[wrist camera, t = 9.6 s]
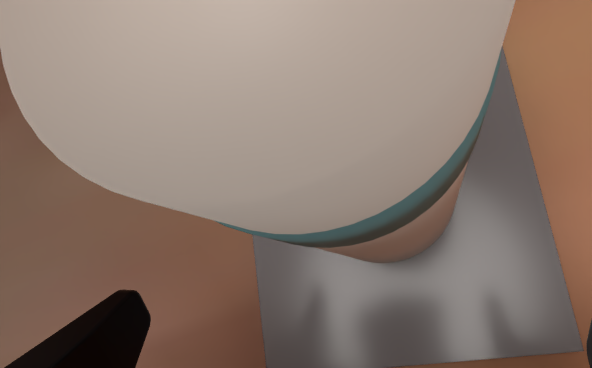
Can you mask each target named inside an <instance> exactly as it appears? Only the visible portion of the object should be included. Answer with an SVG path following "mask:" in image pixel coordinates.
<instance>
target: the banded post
mask: <svg viewBox="0 0 592 368" xmlns="http://www.w3.org/2000/svg"><path fill="white" fill-rule="evenodd" d="M514 3H515V0H0V49H1V55H2V61H3V66H4V69H5V72H6V76H7V79H8V82H9V85H10V88H11V91H12V93H13V96H14V98H15V100H16V102H17V104H18V106H19V108H20V110H21V112H22V114H23V116H24V118H25V119H26V120H27V122H28V123H29V125H30V126H31V128H32V129H33V130H34V132H35V133H36V135H37V136H38V138H39V139H40V140H41V141H42V142H43V143H44V144H45V145H46V146H47V147H48V148H49V149H50V150H51V151H52V152H53V153H54V154H55V155H56V156H57V157H58V159H59V160H61V161H62V162H63V163H65V164H66V165H68V166H69V167H70V168H72V169H73V170H74V171H76V172H77V173H79V174H80V175H81V176H83V177H84V178H86V179H88V180H90V181H92V182H94V183H96V184H98V185H100V186H102V187H104V188H106V189H108V190H110V191H112V192H115V193H119V194H122V195H125V196H128V197H131V198H135V199H138V200H141V201H144V202H148V203H152V204H155V205H159V206H163V207H166V208H170V209H174V210H178V211H181V212H185V213H189V214H192V215H196V216H200V217H203V218H207V219H211V220H214V221H216V222H218V223H220V224H222V225H224V226H227V227H230V228H233V229H236V230H239V231H243V232H246V233H249V234H253V235H257V236H261V237H265V238H269V239H273V240H277V241H281V242H285V243H289V244H294V245H300V246H306V247H314V248H318V249H322V250H325V251H329V252H333V253H336V254H340V255H344V256H348V257H351V258H355V259H359V260H362V261H366V262H372V263H392V262H398V261H402V260H405V259H408V258H411V257H413V256H415V255H417V254H419V253H421V252H423V251H424V250H425V249H427V248H428V247H429V246H431V245H432V244H433V243H434V242H435V241H436V240H437V239H438V238H439V237H440V235H441V234H442V233H443V232H444V230H445V228H446V227H447V225H448V223H449V221H450V219H451V216H452V214H453V211H454V207H455V204H456V200H457V197H458V194H459V190H460V187H461V183H462V180H463V177H464V173H465V170H466V166H467V163H468V160H469V158H470V156H471V154H472V151H473V149H474V146H475V144H476V142H477V139H478V137H479V134H480V130H481V127H482V124H483V121H484V118H485V115H486V112H487V108H488V105H489V102H490V99H491V96H492V93H493V89H494V85H495V81H496V77H497V73H498V70H499V66H500V57H501V48H502V44H503V41H504V37H505V34H506V31H507V27H508V24H509V20H510V17H511V14H512V10H513V7H514Z"/></svg>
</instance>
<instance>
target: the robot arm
mask: <svg viewBox="0 0 592 368" xmlns="http://www.w3.org/2000/svg"><path fill="white" fill-rule="evenodd" d="M150 322H151V318H150V314H149V311H148V310H147V308H146V306H145V304H144V302H143V300H142V298H141V296H140V294H139V293H138V292H137V291H135V290H119V291H117V292H115V293H114V294H112V295H111V296H109V297H108V298H106V299H105V300H103V301H102V302H100V303H99V304H97V305H96V306H94V307H93V308H92V309H90V310H89V311H87V312H86V313H84V314H83V315H81V316H80V317H78V318H77V319H75V320H74V321H72V322H71V323H69V324H68V325H66V326H65V327H64V328H62V329H61V330H59V331H58V332H56V333H55V334H53V335H52V336H50V337H49V338H47V339H46V340H44V341H43V342H41V343H40V344H39V345H37V346H36V347H34V348H33V349H31V350H30V351H28V352H27V353H25V354H24V355H22V356H21V357H19V358H18V359H16V360H15V361H13V362H12V363H11V364H9V365H8V366H6V367H5V368H135V367H136V364H137V361H138V358H139V355H140V353H141V350H142V347H143V344H144V341H145V338H146V335H147V332H148V330H149V327H150ZM587 356H588V361H589V365H590V368H592V320H591V325H590V329H589V334H588V338H587Z"/></svg>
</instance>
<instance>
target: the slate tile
mask: <svg viewBox="0 0 592 368" xmlns="http://www.w3.org/2000/svg"><path fill="white" fill-rule="evenodd" d="M252 235H253V234H252ZM253 244H254V254H255V264H256V273H257V283H258V293H259V302H260V312H261V322H262V331H263V341H264V351H265V360H266V368H388V367H400V366H412V365H424V364H436V363H447V362H459V361H471V360H483V359H495V358H507V357H519V356H531V355H542V354H554V353H566V352H578V351H584V350H583V346H582V342H581V338H580V335H579V331H578V327H577V323H576V320H575V316H574V312H573V308H572V305H571V301H570V297H569V294H568V290H567V286H566V282H565V279H564V275H563V271H562V267H561V264H560V260H559V256H558V252H557V249H556V245H555V241H554V237H553V234H552V230H551V226H550V222H549V219H548V215H547V211H546V208H545V204H544V200H543V196H542V193H541V189H540V185H539V181H538V178H537V174H536V170H535V166H534V163H533V159H532V155H531V151H530V148H529V144H528V140H527V137H526V133H525V129H524V125H523V122H522V118H521V114H520V110H519V107H518V103H517V99H516V95H515V92H514V88H513V84H512V80H511V77H510V73H509V69H508V65H507V62H506V58H505V54H504V51H503V47H502V48H501V57H500V66H499V70H498V73H497V77H496V81H495V85H494V89H493V93H492V96H491V99H490V102H489V105H488V108H487V112H486V115H485V118H484V121H483V124H482V127H481V130H480V134H479V137H478V139H477V142H476V144H475V146H474V149H473V151H472V154H471V156H470V158H469V160H468V163H467V166H466V170H465V173H464V177H463V180H462V183H461V187H460V190H459V194H458V197H457V200H456V204H455V207H454V211H453V214H452V216H451V219H450V221H449V223H448V225H447V227H446V228H445V230H444V232H443V233H442V234H441V235H440V237H439V238H438V239H437V240H436V241H435V242H434V243H433V244H432V245H431V246H429V247H428V248H427V249H425V250H424V251H423V252H421V253H419V254H417V255H415V256H413V257H411V258H408V259H405V260H402V261H398V262H392V263H372V262H366V261H362V260H359V259H355V258H351V257H348V256H344V255H340V254H336V253H333V252H329V251H325V250H322V249H318V248H314V247H306V246H300V245H294V244H289V243H285V242H281V241H277V240H273V239H269V238H265V237H261V236H257V235H253Z"/></svg>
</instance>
